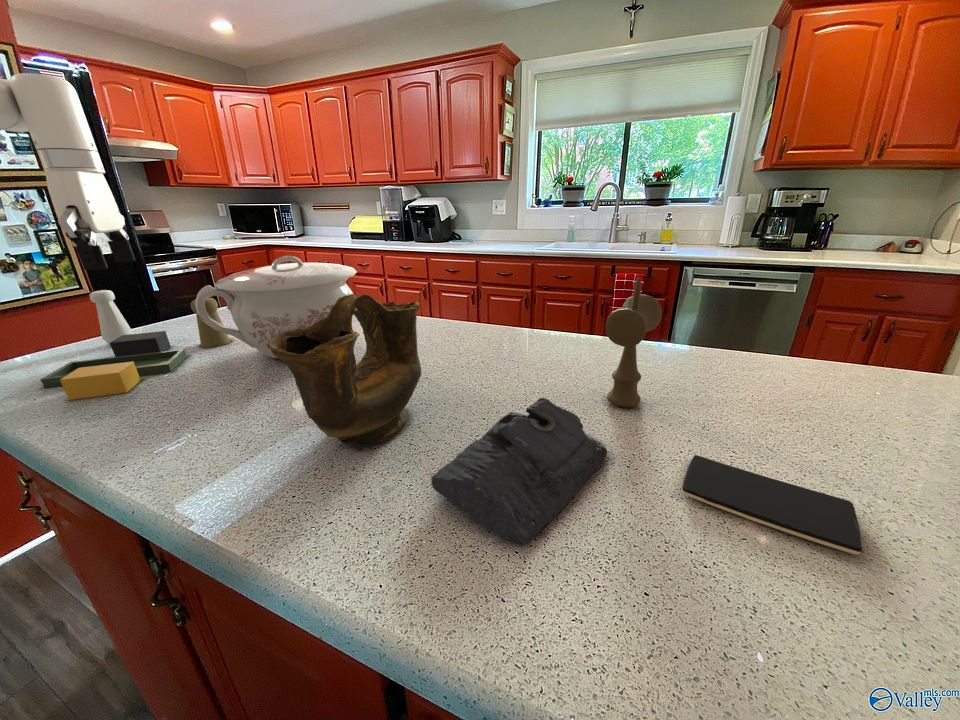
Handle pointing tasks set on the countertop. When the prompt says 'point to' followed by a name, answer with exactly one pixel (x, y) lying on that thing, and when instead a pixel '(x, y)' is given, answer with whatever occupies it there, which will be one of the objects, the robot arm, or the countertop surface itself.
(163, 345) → the charcoal pad
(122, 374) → the mustard pad
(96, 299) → the salt shaker
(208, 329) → the olive knobbed cylinder
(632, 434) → the countertop surface
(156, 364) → the tray
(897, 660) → the countertop surface
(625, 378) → the kendama
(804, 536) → the smartphone
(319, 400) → the pottery vessel
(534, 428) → the dark slate chunk
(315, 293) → the chamber pot
